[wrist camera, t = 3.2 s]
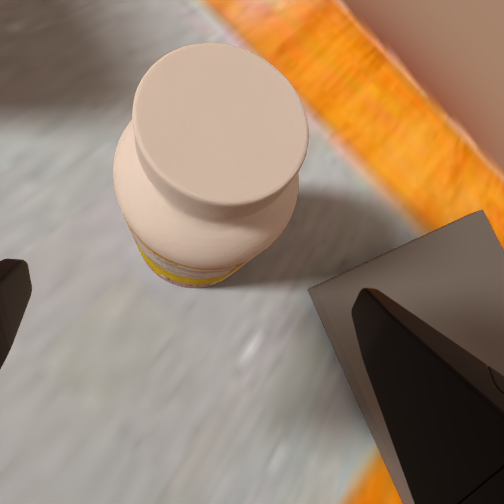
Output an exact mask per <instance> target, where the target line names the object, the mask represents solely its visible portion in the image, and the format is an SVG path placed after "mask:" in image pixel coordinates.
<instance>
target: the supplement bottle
mask: <svg viewBox="0 0 504 504" xmlns="http://www.w3.org/2000/svg"><path fill="white" fill-rule="evenodd" d="M308 140H309V129H308V121H307V116H306V112H305V109H304V107H303V104H302V101H301V99H300V97H299V96H298V94H297V92H296V91H295V89H294V87H293V86H292V85H291V83H290V82H289V81H288V80H287V79H286V77H285V76H284V75H283V74H282V73H281V72H280V71H279V70H277V69H276V68H275V67H274V66H272V65H271V64H270V63H268V62H267V61H266V60H264V59H263V58H261V57H259V56H258V55H256V54H254V53H252V52H249V51H247V50H245V49H242V48H239V47H235V46H231V45H226V44H219V43H203V44H194V45H188V46H185V47H182V48H179V49H176V50H174V51H172V52H170V53H168V54H166V55H165V56H163V57H162V58H160V59H159V60H158V61H157V62H156V63H154V64H153V65H152V66H151V67H150V69H149V70H148V71H147V73H146V74H145V75H144V77H143V78H142V80H141V82H140V84H139V86H138V88H137V90H136V94H135V97H134V102H133V112H132V120H131V121H130V123H129V124H128V125H127V127H126V129H125V130H124V132H123V134H122V136H121V138H120V140H119V143H118V146H117V149H116V153H115V157H114V164H113V181H114V189H115V193H116V197H117V200H118V203H119V206H120V208H121V211H122V213H123V216H124V218H125V220H126V222H127V224H128V226H129V228H130V230H131V233H132V235H133V237H134V240H135V242H136V244H137V246H138V248H139V251H140V253H141V255H142V257H143V258H144V260H145V262H146V263H147V264H148V266H149V267H150V268H151V269H152V270H153V271H154V272H155V273H156V274H157V275H158V276H159V277H161V278H162V279H164V280H166V281H167V282H170V283H172V284H174V285H177V286H181V287H186V288H202V287H208V286H211V285H214V284H217V283H219V282H221V281H223V280H224V279H226V278H227V277H229V276H230V275H232V274H233V273H234V272H236V271H237V270H238V269H240V268H241V267H242V266H243V265H245V264H246V263H247V262H249V261H250V260H251V259H253V258H254V257H255V256H257V255H258V254H260V253H261V252H262V251H264V250H265V249H266V248H268V247H269V246H270V245H271V244H272V243H273V242H274V241H275V240H276V239H277V238H278V237H279V236H280V234H281V233H282V232H283V231H284V229H285V228H286V226H287V224H288V223H289V221H290V218H291V216H292V214H293V211H294V209H295V205H296V201H297V197H298V188H299V177H298V171H299V170H300V168H301V166H302V164H303V161H304V159H305V156H306V152H307V147H308Z"/></svg>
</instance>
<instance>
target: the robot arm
mask: <svg viewBox="0 0 504 504" xmlns="http://www.w3.org/2000/svg"><path fill="white" fill-rule="evenodd" d="M31 292H32V285H31V280H30V274H29V269H28V264H27V262H26V261H24V260H19V259H4V260H2V261H0V369H1V367H2V365H3V363H4V361H5V359H6V357H7V355H8V353H9V351H10V349H11V346H12V344H13V342H14V339H15V336H16V334H17V331H18V328H19V326H20V323H21V320H22V318H23V315H24V312H25V310H26V307H27V304H28V302H29V299H30V296H31ZM351 315H352V319H353V324H354V328H355V332H356V336H357V340H358V344H359V348H360V352H361V356H362V359H363V362H364V365H365V368H366V371H367V374H368V377H369V379H370V382H371V385H372V388H373V391H374V393H375V396H376V399H377V402H378V404H379V407H380V410H381V413H382V415H383V418H384V421H385V424H386V426H387V429H388V432H389V435H390V438H391V440H392V443H393V446H394V449H395V451H396V454H397V457H398V460H399V462H400V465H401V468H402V471H403V473H404V476H405V479H406V482H407V485H408V487H409V490H410V493H411V496H412V498H413V501H414V504H504V376H503V375H502V374H500V373H499V372H497V371H496V370H494V369H493V368H491V367H490V366H487V364H486V363H484V362H483V361H481V360H480V359H478V358H477V357H475V356H474V355H472V354H471V353H469V352H468V351H467V350H465V349H464V348H462V347H461V346H459V345H458V344H456V343H455V342H453V341H452V340H451V339H449V338H448V337H446V336H445V335H443V334H442V333H440V332H439V331H437V330H436V329H435V328H433V327H432V326H430V325H429V324H427V323H426V322H424V321H423V320H421V319H420V318H419V317H417V316H416V315H414V314H413V313H411V312H410V311H408V310H407V309H405V308H404V307H402V306H401V305H400V304H398V303H397V302H395V301H394V300H392V299H391V298H389V297H388V296H386V295H385V294H384V293H382V292H381V291H379V290H378V289H375V288H362V289H361V290H360V292H359V294H358V296H357V298H356V300H355V302H354V305H353V307H352V310H351Z"/></svg>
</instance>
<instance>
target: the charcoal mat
mask: <svg viewBox="0 0 504 504" xmlns="http://www.w3.org/2000/svg"><path fill="white" fill-rule="evenodd" d="M362 288H375V289H378V290H379V291H381V292H382V293H384V294H385V295H386V296H388V297H389V298H391V299H392V300H394V301H395V302H397V303H398V304H400V305H401V306H402V307H404V308H405V309H407V310H408V311H410V312H411V313H413V314H414V315H416V316H417V317H419V318H420V319H421V320H423V321H424V322H426V323H427V324H429V325H430V326H432V327H433V328H435V329H436V330H437V331H439V332H440V333H442V334H443V335H445V336H446V337H448V338H449V339H451V340H452V341H453V342H455V343H456V344H458V345H459V346H461V347H462V348H464V349H465V350H467V351H468V352H469V353H471V354H472V355H474V356H475V357H477V358H478V359H480V360H481V361H483V362H484V363H486V364H487V366H490V367H491V368H493V369H494V370H496V371H497V372H499V373H500V374H502V375H503V376H504V251H503V249H502V247H501V245H500V243H499V241H498V239H497V237H496V235H495V233H494V231H493V229H492V227H491V225H490V223H489V221H488V219H487V217H486V215H485V213H484V211H483V210H480V211H477V212H474V213H471V214H469V215H467V216H464V217H462V218H460V219H458V220H456V221H454V222H452V223H449V224H447V225H445V226H443V227H441V228H439V229H436V230H434V231H432V232H430V233H428V234H426V235H424V236H421V237H419V238H417V239H415V240H413V241H411V242H408V243H406V244H404V245H402V246H400V247H398V248H396V249H393V250H391V251H389V252H387V253H385V254H383V255H380V256H378V257H376V258H374V259H372V260H370V261H368V262H365V263H363V264H361V265H359V266H357V267H355V268H353V269H350V270H348V271H346V272H344V273H342V274H340V275H337V276H335V277H333V278H331V279H329V280H327V281H325V282H322V283H320V284H318V285H316V286H314V287H312V288H309V289H307V290H308V292H309V294H310V296H311V298H312V301H313V303H314V305H315V307H316V310H317V312H318V314H319V316H320V319H321V321H322V323H323V325H324V328H325V330H326V332H327V334H328V337H329V339H330V341H331V343H332V346H333V348H334V350H335V352H336V355H337V357H338V359H339V361H340V363H341V366H342V368H343V370H344V372H345V375H346V377H347V379H348V381H349V384H350V386H351V388H352V390H353V393H354V395H355V397H356V399H357V402H358V404H359V406H360V408H361V411H362V413H363V415H364V417H365V420H366V422H367V424H368V426H369V428H370V431H371V433H372V435H373V437H374V440H375V442H376V444H377V446H378V449H379V451H380V453H381V455H382V458H383V460H384V462H385V464H386V467H387V469H388V471H389V473H390V476H391V478H392V480H393V482H394V485H395V487H396V489H397V491H398V493H399V496H400V498H401V500H402V502H403V504H414V501H413V498H412V496H411V493H410V490H409V487H408V485H407V482H406V479H405V476H404V473H403V471H402V468H401V465H400V462H399V460H398V457H397V454H396V451H395V449H394V446H393V443H392V440H391V438H390V435H389V432H388V429H387V426H386V424H385V421H384V418H383V415H382V413H381V410H380V407H379V404H378V402H377V399H376V396H375V393H374V391H373V388H372V385H371V382H370V379H369V377H368V374H367V371H366V368H365V365H364V362H363V359H362V356H361V352H360V348H359V344H358V340H357V336H356V332H355V328H354V324H353V319H352V315H351V310H352V307H353V305H354V302H355V300H356V298H357V296H358V294H359V292H360V290H361V289H362Z"/></svg>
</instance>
